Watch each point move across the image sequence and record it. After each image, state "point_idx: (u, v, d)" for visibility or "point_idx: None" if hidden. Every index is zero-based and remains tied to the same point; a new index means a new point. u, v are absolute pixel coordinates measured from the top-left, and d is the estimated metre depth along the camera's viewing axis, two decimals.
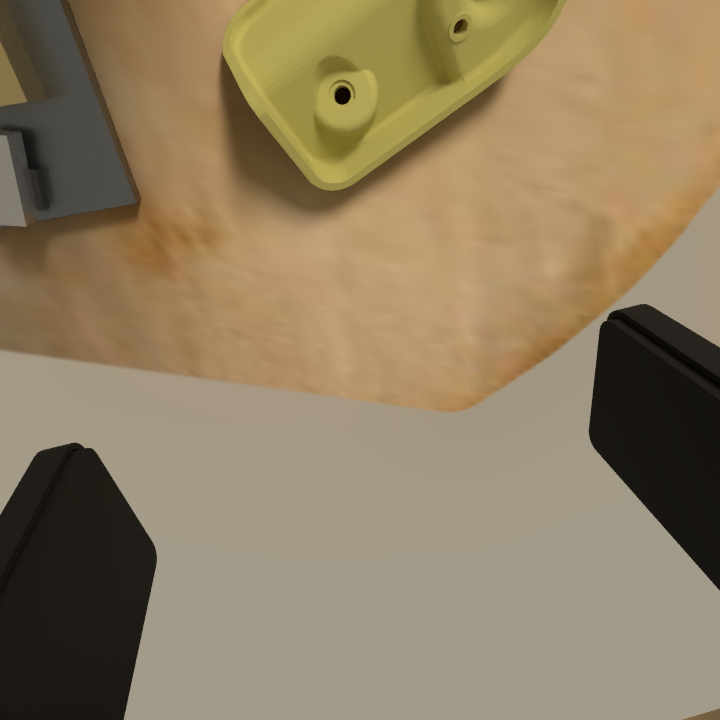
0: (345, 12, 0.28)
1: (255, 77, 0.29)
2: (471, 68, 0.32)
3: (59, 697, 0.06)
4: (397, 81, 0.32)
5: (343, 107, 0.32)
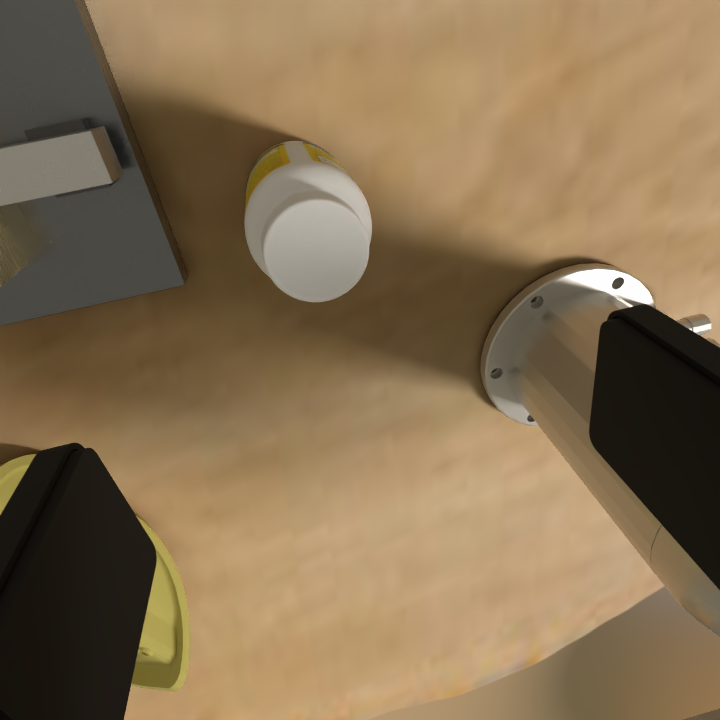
0: None
1: None
2: None
3: (59, 697, 0.06)
4: None
5: None
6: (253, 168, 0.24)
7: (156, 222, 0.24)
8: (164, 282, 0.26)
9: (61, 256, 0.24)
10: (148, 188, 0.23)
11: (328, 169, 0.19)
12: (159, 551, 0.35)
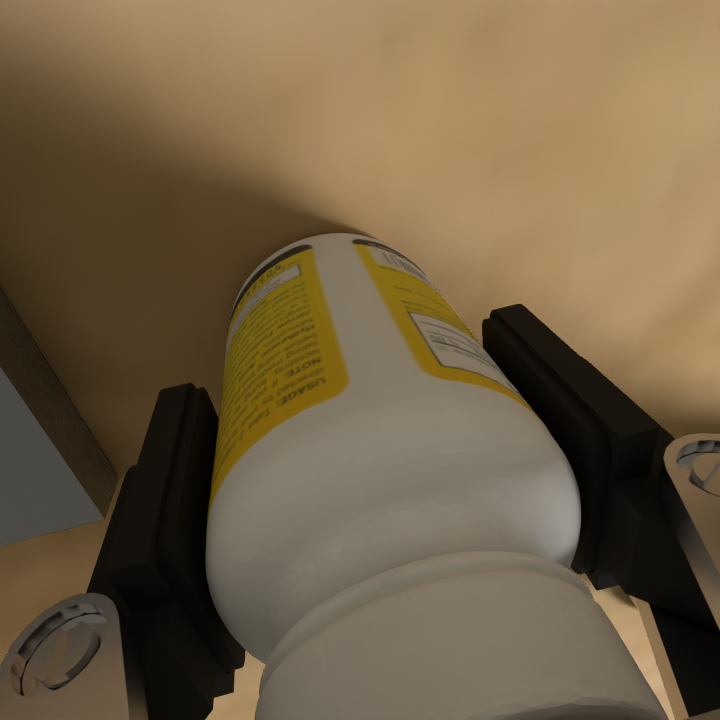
0: None
1: None
2: None
3: None
4: None
5: None
6: (241, 304, 0.10)
7: (26, 420, 0.11)
8: (60, 519, 0.12)
9: None
10: None
11: (483, 422, 0.06)
12: None
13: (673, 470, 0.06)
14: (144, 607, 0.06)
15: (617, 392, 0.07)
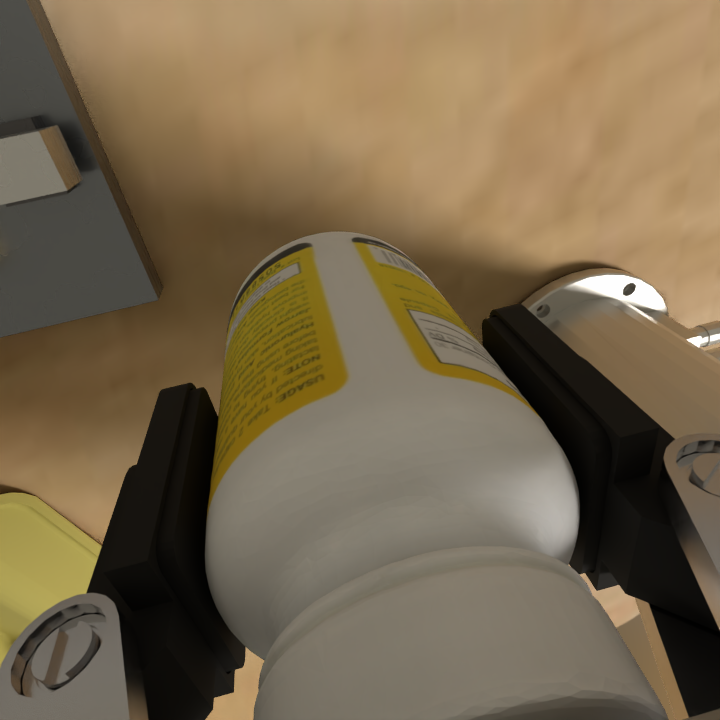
0: (33, 611, 0.30)
1: None
2: None
3: None
4: None
5: None
6: (241, 302, 0.10)
7: (123, 232, 0.22)
8: (135, 298, 0.23)
9: (17, 271, 0.22)
10: (113, 194, 0.21)
11: (482, 418, 0.06)
12: None
13: (673, 470, 0.06)
14: (144, 607, 0.06)
15: (617, 392, 0.07)
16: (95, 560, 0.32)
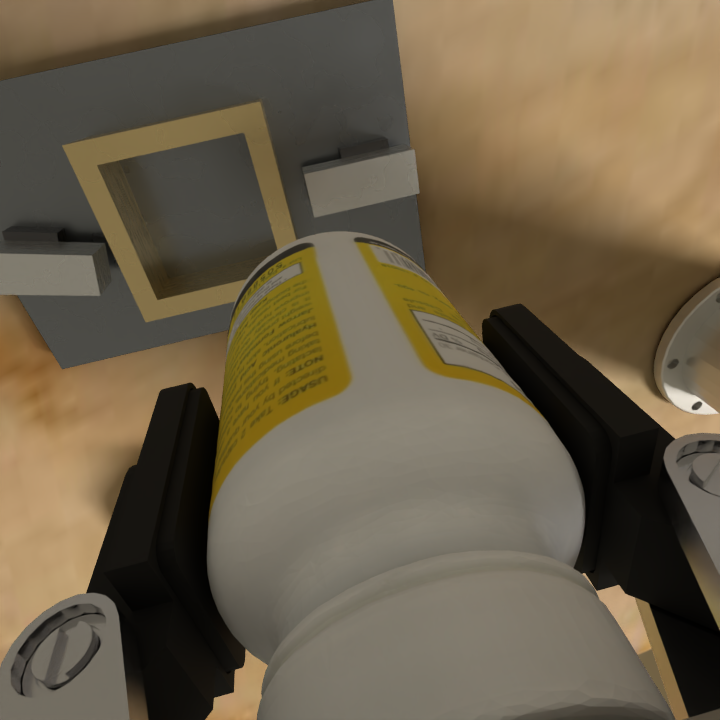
0: None
1: None
2: None
3: None
4: None
5: None
6: (242, 303, 0.10)
7: (416, 227, 0.27)
8: None
9: None
10: (415, 197, 0.27)
11: (487, 420, 0.05)
12: None
13: (673, 470, 0.06)
14: (144, 607, 0.06)
15: (617, 392, 0.07)
16: None
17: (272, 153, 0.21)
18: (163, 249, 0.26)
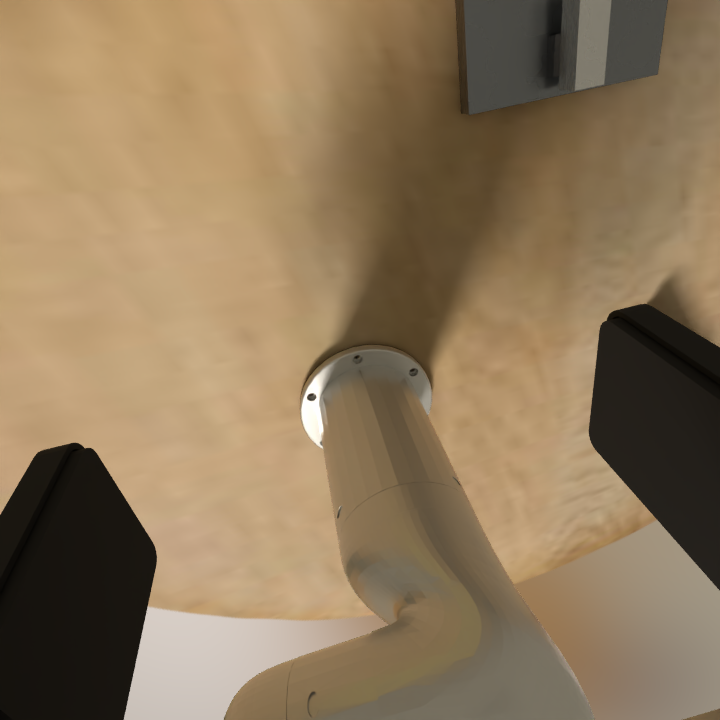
0: None
1: None
2: None
3: (59, 697, 0.06)
4: None
5: None
6: None
7: (516, 101, 0.34)
8: (473, 98, 0.33)
9: (506, 16, 0.31)
10: (536, 99, 0.34)
11: None
12: None
13: None
14: None
15: None
16: None
17: None
18: None
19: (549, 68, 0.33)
